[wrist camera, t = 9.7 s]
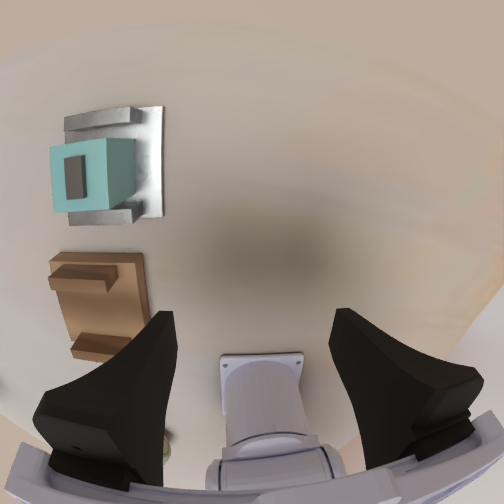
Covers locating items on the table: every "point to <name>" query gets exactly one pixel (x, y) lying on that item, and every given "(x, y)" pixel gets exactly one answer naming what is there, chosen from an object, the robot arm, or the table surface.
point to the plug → (92, 174)
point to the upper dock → (100, 300)
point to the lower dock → (145, 157)
